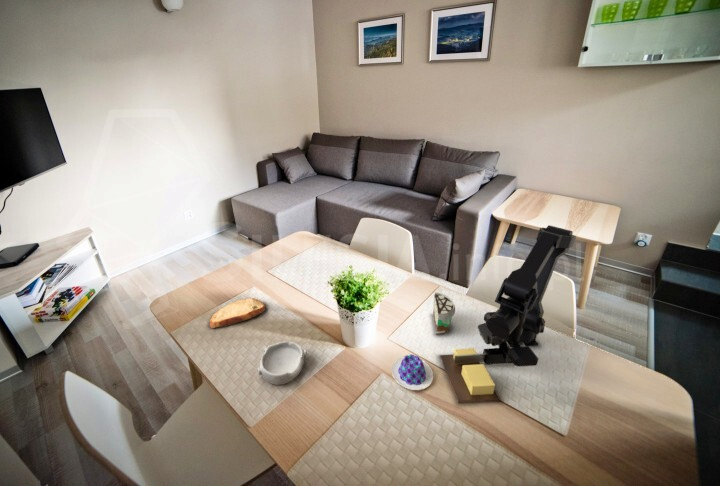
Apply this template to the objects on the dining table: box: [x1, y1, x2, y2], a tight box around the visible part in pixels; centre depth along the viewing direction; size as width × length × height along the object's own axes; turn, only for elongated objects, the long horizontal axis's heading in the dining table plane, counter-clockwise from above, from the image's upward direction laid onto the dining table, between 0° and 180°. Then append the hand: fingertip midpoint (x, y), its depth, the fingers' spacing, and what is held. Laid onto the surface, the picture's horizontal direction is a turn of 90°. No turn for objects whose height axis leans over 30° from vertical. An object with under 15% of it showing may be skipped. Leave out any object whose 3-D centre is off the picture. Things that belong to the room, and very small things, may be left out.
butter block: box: [461, 363, 496, 395], centre depth 92 cm, size 6×7×4 cm
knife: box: [454, 347, 513, 366], centre depth 98 cm, size 21×2×4 cm, turn 91°
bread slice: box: [209, 297, 267, 329], centre depth 128 cm, size 18×18×4 cm
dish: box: [257, 340, 308, 385], centre depth 103 cm, size 14×14×5 cm
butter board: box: [439, 354, 500, 404], centre depth 96 cm, size 11×16×1 cm
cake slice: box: [432, 292, 456, 336], centre depth 113 cm, size 12×6×10 cm, turn 168°
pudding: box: [391, 354, 434, 391], centre depth 97 cm, size 12×12×5 cm
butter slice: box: [453, 347, 478, 364], centre depth 99 cm, size 6×2×4 cm, turn 91°
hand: (504, 357), depth 98 cm, fingers closed on knife, 2 cm apart
